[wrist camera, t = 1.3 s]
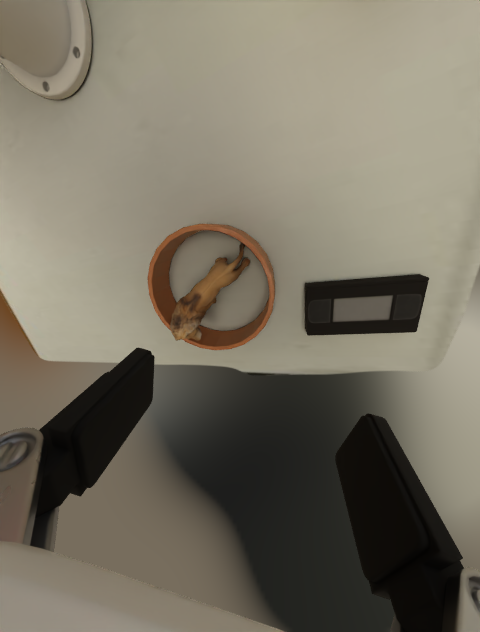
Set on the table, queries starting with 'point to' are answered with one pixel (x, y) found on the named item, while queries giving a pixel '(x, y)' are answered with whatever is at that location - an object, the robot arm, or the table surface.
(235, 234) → the basin
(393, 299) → the vhs tape
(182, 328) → the lion figurine
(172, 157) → the table surface
